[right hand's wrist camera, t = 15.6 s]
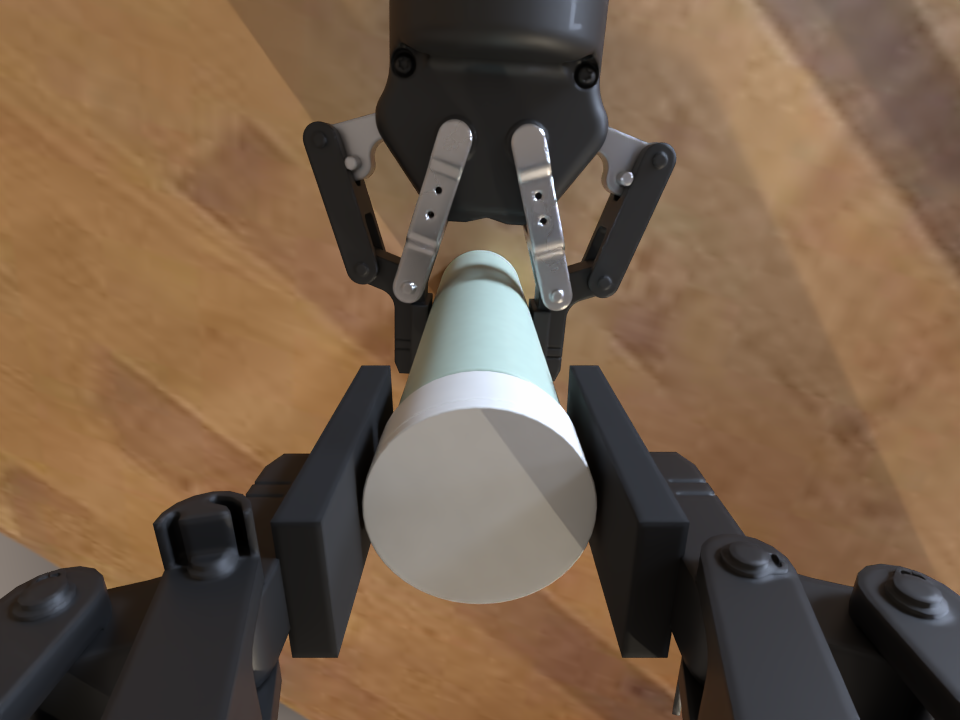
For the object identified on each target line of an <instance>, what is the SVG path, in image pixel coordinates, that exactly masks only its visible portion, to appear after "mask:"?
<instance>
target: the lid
mask: <svg viewBox="0 0 960 720" xmlns="http://www.w3.org/2000/svg"><path fill="white" fill-rule="evenodd" d="M362 513H363V520H364V524H365V529H366V531H367V534H368V537H369V539H370V542H371V543H372V545H373V547H374V549H375V551H376V552H377V554H378V555H379V557H380V558H381V559H382V560H383V562H384V563H385V564H386V565H387V566H388V567H389V568H390V569H391V570H392V571H393V572H394V573H395V574H396V575H397V576H399V577H400V578H401V579H402V580H404V581H405V582H407V583H408V584H410V585H412V586H413V587H415V588H417V589H419V590H421V591H423V592H425V593H427V594H430V595H432V596H435V597H438V598H441V599H445V600H450V601H454V602H461V603H469V604H489V603H499V602H505V601H510V600H514V599H518V598H521V597H524V596H527V595H529V594H532V593H534V592H537V591H539V590H541V589H542V588H544V587H546V586H548V585H550V584H551V583H552V582H554V581H555V580H557V579H558V578H559V577H561V576H562V575H563V574H564V573H565V572H566V571H567V570H569V569H570V568H571V567H572V565H573V564H574V563H575V562H576V561H577V559H578V558H579V557H580V556H581V554H582V552H583V551H584V549H585V548H586V546H587V544H588V542H589V539H590V537H591V535H592V532H593V528H594V525H595V521H596V514H597V494H596V489H595V484H594V480H593V477H592V474H591V472H590V469H589V466H588V463H587V460H586V458H585V455H584V452H583V449H582V446H581V444H580V441H579V438H578V435H577V433H576V430H575V427H574V425H573V423H572V422H571V420H570V418H569V416H568V415H567V414H566V412H565V411H564V409H563V408H562V407H561V406H560V405H559V404H558V403H557V402H556V401H555V400H554V399H553V398H552V397H551V396H550V395H549V394H547V393H546V392H545V391H543V390H542V389H540V388H539V387H537V386H535V385H533V384H532V383H530V382H528V381H525V380H523V379H520V378H518V377H515V376H511V375H508V374H504V373H498V372H491V371H470V372H460V373H456V374H452V375H447V376H444V377H442V378H439V379H436V380H434V381H432V382H430V383H428V384H426V385H424V386H422V387H420V388H419V389H418V390H416V391H415V392H413V393H412V394H410V395H409V396H408V397H407V398H406V399H405V400H404V401H403V402H402V403H401V404H400V405H399V406H398V407H397V409H396V410H395V411H394V412H393V414H392V415H391V417H390V419H389V420H388V422H387V424H386V426H385V428H384V431H383V433H382V435H381V438H380V441H379V444H378V446H377V449H376V452H375V455H374V457H373V460H372V463H371V466H370V469H369V471H368V474H367V477H366V481H365V485H364V488H363V496H362Z"/></svg>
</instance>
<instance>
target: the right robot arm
mask: <svg viewBox="0 0 960 720" xmlns="http://www.w3.org/2000/svg"><path fill="white" fill-rule="evenodd" d="M392 414H393V402H392V386H391V370H390V366H361V368H360V369H359V371H358V373H357V374H356V376H355V378H354V380H353V381H352V383H351V385H350V386H349V388H348V390H347V392H346V393H345V395H344V397H343V398H342V400H341V402H340V404H339V405H338V407H337V409H336V410H335V412H334V414H333V416H332V417H331V419H330V421H329V422H328V424H327V426H326V428H325V429H324V431H323V433H322V434H321V436H320V438H319V439H318V441H317V443H316V445H315V446H314V448H313V450H312V451H311V453H310V454H283V455H282V456H280V457H279V458H277V459H276V460H274V461H273V462H271V463H270V464H269V465H267V466H266V467H265V468H264V469H263V471H262V472H261V474H260V475H259V476H258V478H257V479H256V481H255V485H252V486H251V488H250V489H249V491H248V492H247V493H246V497H245V496H244V495H243V494H239V493H235V492H231V491H216V492H209V493H204V494H200V495H195V496H193V497H190V498H188V499H185V500H183V501H180V502H178V503H176V504H175V505H173V506H172V507H170V508H169V509H167V510H166V511H164V512H163V513H162V514H161V515H160V516H159V517H158V518H157V520H156V521H155V522H154V523H153V527H154V530H155V534H156V538H157V542H158V546H159V550H160V554H161V558H162V562H163V565H164V569H165V571H164V573H163V575H162V577H158V578H155V579H151V580H148V581H143V582H138V583H134V584H129V585H125V586H120V587H116V588H111V589H107V588H106V585H105V581H104V578H103V575H102V574H100V573H99V572H98V571H97V570H96V569H94V568H88V567H82V566H78V567H70V568H62V569H58V570H55V571H51V572H49V573H45V574H42V575H39V576H37V577H35V578H33V579H31V580H29V581H27V582H26V583H24V584H22V585H20V586H18V587H16V588H15V589H13V590H12V591H11V592H9V593H8V594H7V595H5V596H4V597H3V598H1V599H0V720H277V718H278V709H279V700H280V691H281V682H282V679H281V671H280V665H279V659H278V658H279V655H280V653H281V651H282V648H283V646H284V643H285V641H286V638H287V636H288V633H289V640H290V646H291V652H292V658H338V655H339V652H340V648H341V645H342V641H343V638H344V634H345V631H346V627H347V624H348V620H349V617H350V613H351V610H352V606H353V603H354V599H355V596H356V592H357V589H358V585H359V582H360V579H361V575H362V572H363V568H364V565H365V561H366V558H367V554H368V551H369V547H370V544H371V542H370V539H369V537H368V534H367V531H366V529H365V524H364V520H363V513H362V496H363V488H364V485H365V481H366V477H367V474H368V471H369V469H370V466H371V463H372V460H373V457H374V455H375V452H376V449H377V446H378V444H379V441H380V438H381V435H382V433H383V431H384V428H385V426H386V424H387V422H388V420H389V419H390V417H391V415H392ZM567 415H568V416H569V418H570V420H571V422H572V423H573V425H574V427H575V430H576V433H577V435H578V438H579V441H580V444H581V446H582V449H583V452H584V455H585V458H586V460H587V463H588V466H589V469H590V472H591V474H592V477H593V480H594V484H595V489H596V494H597V514H596V521H595V525H594V528H593V532H592V535H591V537H590V539H589V544H590V547H591V551H592V554H593V558H594V561H595V565H596V568H597V572H598V575H599V579H600V582H601V585H602V589H603V592H604V596H605V599H606V603H607V606H608V610H609V613H610V617H611V620H612V624H613V627H614V631H615V634H616V638H617V641H618V645H619V648H620V652H621V655H622V658H668V652H669V646H670V640H671V633H673V636H674V638H675V640H676V643H677V645H678V648H679V650H680V653H681V655H682V659H681V665H680V670H679V676H678V682H677V687H676V693H675V699H674V705H673V713H672V714H674V715H679V716H680V711H681V708H682V717H683V720H960V596H959V595H958V594H956V593H955V592H954V591H952V590H951V589H950V588H948V587H947V586H945V585H944V584H942V583H940V582H938V581H936V580H934V579H932V578H930V577H928V576H926V575H925V574H923V573H920V572H917V571H914V570H910V569H908V568H904V567H901V566H894V565H886V564H877V565H871V566H866V567H865V568H863V569H862V570H861V571H860V572H859V573H858V575H857V578H856V581H855V585H854V587H850V586H846V585H841V584H837V583H832V582H828V581H823V580H819V579H814V578H810V577H807V576H803V575H800V574H797V572H796V570H795V568H794V567H793V566H792V564H791V563H790V561H789V560H788V558H787V557H785V556H784V555H783V554H782V553H780V552H779V551H778V550H776V549H775V548H774V547H772V546H770V545H768V544H766V543H764V542H762V541H760V540H757V539H755V538H751V537H747V536H745V535H744V533H743V532H742V530H741V529H740V528H739V526H738V525H737V523H736V522H735V521H734V519H733V518H732V516H731V515H730V514H729V512H728V511H727V509H726V508H725V507H724V505H723V504H722V502H721V501H720V500H719V498H718V497H717V496H715V495H714V491H713V490H712V488H711V487H710V485H709V484H708V483H706V482H705V478H704V477H703V476H702V474H701V473H700V471H699V470H698V469H697V467H696V466H695V465H694V464H693V463H691V462H690V461H688V460H687V459H686V458H684V457H683V456H681V455H680V454H678V453H677V452H649V451H648V450H647V448H646V446H645V445H644V443H643V441H642V439H641V438H640V436H639V434H638V433H637V431H636V429H635V427H634V426H633V424H632V422H631V421H630V419H629V417H628V416H627V414H626V412H625V410H624V409H623V407H622V405H621V404H620V402H619V400H618V398H617V397H616V395H615V393H614V392H613V390H612V388H611V386H610V385H609V383H608V381H607V380H606V378H605V376H604V374H603V373H602V371H601V369H600V368H599V366H570V370H569V386H568V402H567Z"/></svg>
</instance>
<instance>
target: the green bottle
mask: <svg viewBox="0 0 960 720" xmlns="http://www.w3.org/2000/svg"><path fill="white" fill-rule="evenodd" d="M470 371H491V372H498V373H504V374H508V375H511V376H515V377H518V378H520V379H523V380H525V381H528V382H530V383H532V384H533V385H535V386H537V387H539V388H540V389H542V390H543V391H545V392H546V393H547V394H549V395H550V396H551V397H552V398H553V399H554V400H555V401H556V402H557V403H558V404H559V405H560V402H559V399H558V396H557V393H556V390H555V387H554V384H553V381H552V378H551V375H550V372H549V369H548V366H547V363H546V360H545V357H544V354H543V351H542V348H541V345H540V342H539V339H538V336H537V333H536V330H535V327H534V324H533V321H532V318H531V315H530V312H529V309H528V306H527V303H526V300H525V297H524V294H523V291H522V288H521V285H520V281H519V278H518V275H517V273H516V271H515V269H514V268H513V266H512V265H511V264H510V263H509V262H508V261H507V260H506V259H505V258H503V257H502V256H500V255H498V254H496V253H494V252H491V251H486V250H474V251H469V252H466V253H464V254H462V255H460V256H458V257H457V258H455V259H454V260H453V261H452V262H451V263H450V264H449V265H448V266H447V268H446V269H445V271H444V273H443V275H442V278H441V281H440V284H439V287H438V290H437V293H436V296H435V299H434V302H433V305H432V308H431V311H430V314H429V317H428V320H427V323H426V326H425V329H424V332H423V335H422V338H421V341H420V344H419V347H418V350H417V353H416V356H415V359H414V362H413V365H412V368H411V370H410V373H409V376H408V379H407V382H406V385H405V388H404V391H403V394H402V397H401V400H400V403H399V405H400V404H401V403H402V402H403V401H404V400H405V399H406V398H407V397H408V396H409V395H410V394H412V393H413V392H415V391H416V390H418V389H419V388H420V387H422V386H424V385H426V384H428V383H430V382H432V381H434V380H436V379H439V378H442V377H444V376H447V375H452V374H456V373H460V372H470ZM560 406H561V405H560Z"/></svg>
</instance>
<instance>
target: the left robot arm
mask: <svg viewBox="0 0 960 720" xmlns="http://www.w3.org/2000/svg"><path fill="white" fill-rule="evenodd" d="M608 2H609V0H389V22H390V67H389V75H388V80H387V83H386V86H385V89H384V91H383V93H382V95H381V97H380V99H379V101H378V103H377V106H376V112H375V113H373V114H370V115H366V116H362V117H359V118H355V119H351V120H348V121H344V122H341V123H337V124H328V123H324V122H319V121H317V122H313V123H311V124H309V125H308V126H307V127H306V129H305V130H304V133H303V142H304V146H305V149H306V152H307V155H308V158H309V161H310V164H311V167H312V170H313V173H314V175H315V178H316V181H317V184H318V187H319V190H320V193H321V196H322V199H323V202H324V205H325V208H326V211H327V214H328V217H329V220H330V223H331V226H332V229H333V232H334V235H335V238H336V241H337V244H338V247H339V250H340V253H341V256H342V259H343V262H344V265H345V268H346V271H347V274H348V276H349V277H350V278H351V280H353V281H354V282H356V283H358V284H369V285H372V286H374V287H377V288H379V289H382V290H384V291H385V292H387V293H388V294H389V295H390V296H391V298H392V299H393V302H394V306H395V364H396V366H397V368H398V371H399V373H408V374H409V373H410V370H411V368H412V365H413V362H414V359H415V356H416V353H417V350H418V347H419V344H420V341H421V338H422V335H423V332H424V329H425V326H426V323H427V320H428V317H429V314H430V311H431V308H432V298H433V293H428V280H429V277H430V274H431V271H432V268H433V265H434V262H435V259H436V256H437V253H438V250H439V247H440V244H441V241H442V239H443V236H444V233H445V230H446V227H447V224H448V221H457V222H468V221H473V220H477V219H482V218H490V219H493V220H496V221H499V222H502V223H505V224H511V225H523V229H524V234H525V239H526V243H527V246H528V250H529V255H530V260H531V264H532V269H533V274H534V279H535V283H536V287H535V298H534V299H529V307H528V309H529V312H530V315H531V318H532V321H533V324H534V327H535V330H536V333H537V336H538V339H539V342H540V345H541V348H542V351H543V354H544V357H545V360H546V363H547V366H548V369H549V372H550V375H551V378H552V381H555V379H556V377H557V375H558V374H559V372H560V368H561V357H562V350H563V349H562V348H563V341H564V333H565V324H566V316H567V313H568V311H569V309H570V308H571V306H572V305H574V304H575V303H576V302H578V301H581V300H584V299H588V298H591V297H595V296H597V297H599V298H607V297H610V296H611V295H613V294H614V293H615V292H616V291H617V289H618V287H619V285H620V283H621V281H622V279H623V277H624V274H625V272H626V270H627V268H628V266H629V264H630V261H631V259H632V257H633V255H634V253H635V251H636V248H637V246H638V244H639V242H640V240H641V238H642V236H643V233H644V231H645V229H646V227H647V225H648V223H649V220H650V218H651V216H652V214H653V212H654V210H655V207H656V205H657V203H658V201H659V199H660V197H661V194H662V192H663V190H664V188H665V186H666V184H667V181H668V179H669V177H670V175H671V173H672V171H673V169H674V166H675V164H676V153H675V151H674V149H673V148H672V147H671V146H670V145H669V144H667V143H657V142H653V143H647V142H644V141H642V140H640V139H637V138H635V137H632V136H630V135H627V134H625V133H622V132H620V131H618V130H615V129H613V128H610V127H608V117H607V114H606V111H605V109H604V106H603V103H602V100H601V95H600V86H599V83H600V71H601V62H602V54H603V45H604V36H605V28H606V19H607V11H608ZM383 141H384V142H385V144H386V145H387V147H388V148H389V150H390V151H391V153H392V154H393V156H394V157H395V159H396V160H397V162H398V163H399V165H400V166H401V168H402V169H403V171H404V173H405V174H406V176H407V177H408V179H409V180H410V182H411V183H412V185H413V186H414V188H415V189H416V191H417V192H418V194H419V198H418V201H417V204H416V208H415V211H414V214H413V217H412V221H411V224H410V227H409V230H408V234H407V238H406V244H405V247H404V250H403V254H402V257H401V258H400V257H398V256H396V255H393V254H391V253H389V252H386V250H385V247H384V244H383V240H382V237H381V234H380V231H379V227H378V224H377V221H376V218H375V214H374V211H373V208H372V205H371V201H370V198H369V195H368V191H367V188H366V185H365V182H364V179H366V178H368V177H370V176H371V175H372V174H373V172H374V170H375V150H376V148H377V146H378V145H379V144H380V143H381V142H383ZM596 154H598V155H599V156H600V157H601V159H602V161H603V167H604V168H603V173H602V185H603V187H604V188H605V189H606V190H607V191H608V192H610V193H611V194H610V196H609V199H608V201H607V203H606V206H605V208H604V210H603V212H602V215H601V217H600V219H599V222H598V224H597V226H596V229H595V231H594V233H593V236H592V238H591V240H590V243H589V245H588V247H587V250H586V252H585V254H584V257H583V259H582V261H581V262H580V263H576V264H573V265H570V266H567V262H566V257H565V244H564V238H563V232H562V227H561V222H560V216H559V211H558V205H557V201H558V200H559V199H560V197H561V196H562V195H563V194H564V193H565V191H566V190H567V189H568V188H569V186H570V185H571V184H572V183H573V182H574V180H575V179H576V178H577V177H578V176H579V174H580V173H581V172H582V171H583V170H584V168H585V167H586V166H587V165H588V164H589V162H590V161H591V160H592V159H593V157H594V156H595V155H596Z"/></svg>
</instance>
